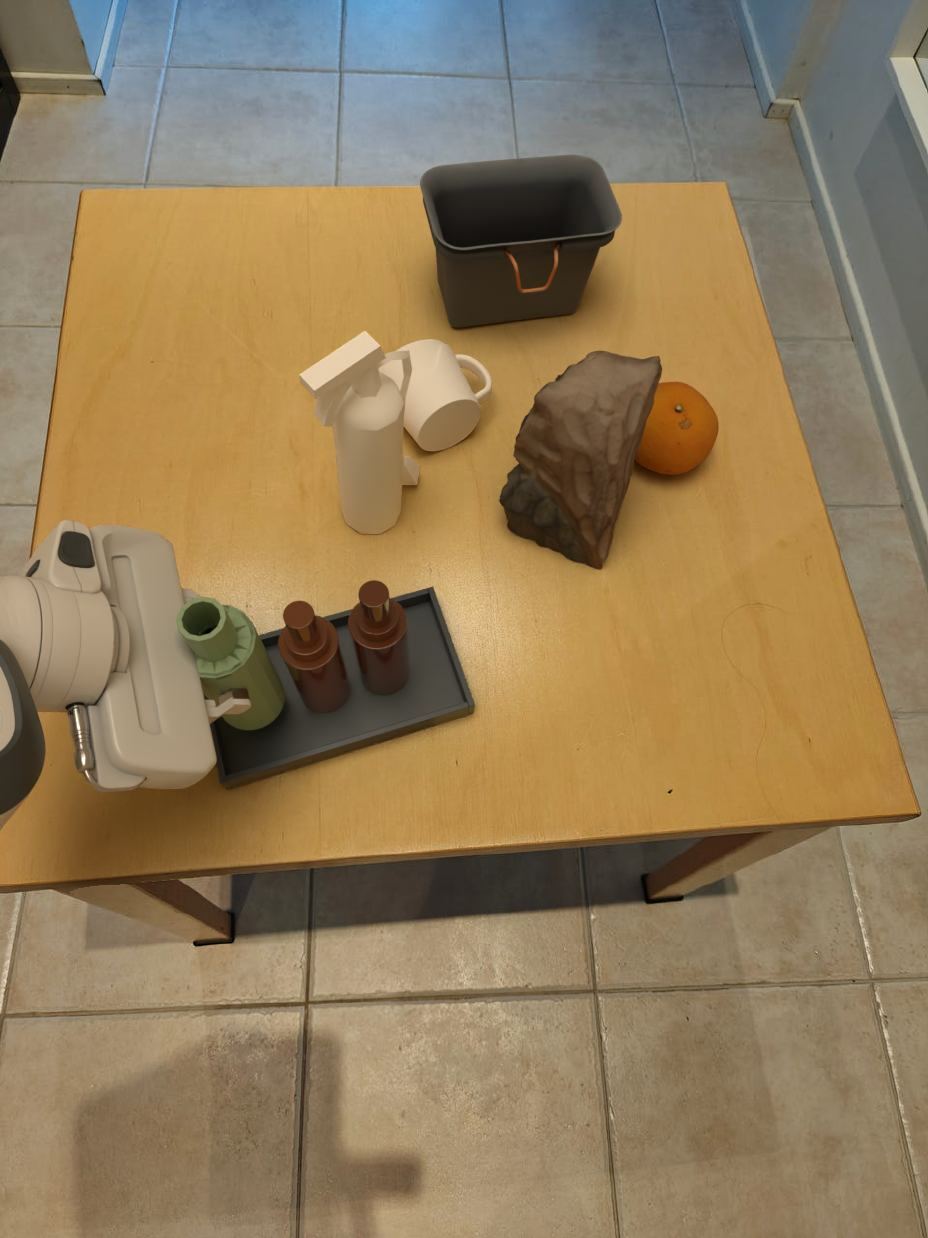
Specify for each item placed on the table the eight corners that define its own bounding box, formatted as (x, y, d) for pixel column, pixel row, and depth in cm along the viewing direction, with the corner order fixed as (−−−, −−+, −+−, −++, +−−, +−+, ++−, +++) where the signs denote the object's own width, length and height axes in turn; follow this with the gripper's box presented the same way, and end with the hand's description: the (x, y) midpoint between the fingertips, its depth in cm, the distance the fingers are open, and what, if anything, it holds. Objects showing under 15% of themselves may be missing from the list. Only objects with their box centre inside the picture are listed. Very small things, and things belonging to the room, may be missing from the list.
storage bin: (574, 250, 103) (595, 146, 90) (608, 339, 97) (636, 241, 84) (416, 270, 101) (414, 166, 88) (440, 362, 95) (443, 265, 82)
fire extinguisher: (442, 498, 87) (448, 330, 64) (353, 557, 83) (326, 401, 60) (405, 458, 89) (398, 281, 66) (317, 514, 85) (277, 347, 62)
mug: (411, 463, 88) (410, 418, 81) (375, 404, 92) (371, 355, 84) (503, 425, 91) (510, 378, 84) (465, 369, 94) (468, 319, 87)
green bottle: (225, 738, 70) (165, 668, 54) (212, 678, 72) (151, 593, 56) (291, 719, 71) (252, 644, 55) (276, 660, 73) (234, 571, 57)
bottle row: (306, 720, 75) (273, 652, 59) (293, 673, 77) (259, 595, 61) (416, 687, 77) (413, 612, 61) (401, 642, 79) (395, 558, 63)
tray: (227, 790, 73) (220, 784, 70) (200, 663, 78) (192, 653, 75) (473, 713, 77) (475, 705, 74) (432, 598, 82) (433, 586, 79)
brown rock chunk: (491, 529, 85) (509, 409, 67) (536, 444, 90) (563, 311, 72) (599, 574, 84) (647, 463, 65) (638, 485, 89) (693, 359, 70)
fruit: (629, 494, 88) (648, 450, 81) (604, 419, 92) (619, 372, 85) (716, 480, 89) (742, 436, 82) (687, 407, 94) (709, 359, 86)
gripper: (102, 775, 47) (288, 765, 58) (62, 499, 55) (232, 535, 65) (57, 811, 51) (240, 796, 61) (25, 546, 58) (192, 573, 69)
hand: (236, 659), depth 63 cm, fingers closed on green bottle, 6 cm apart
